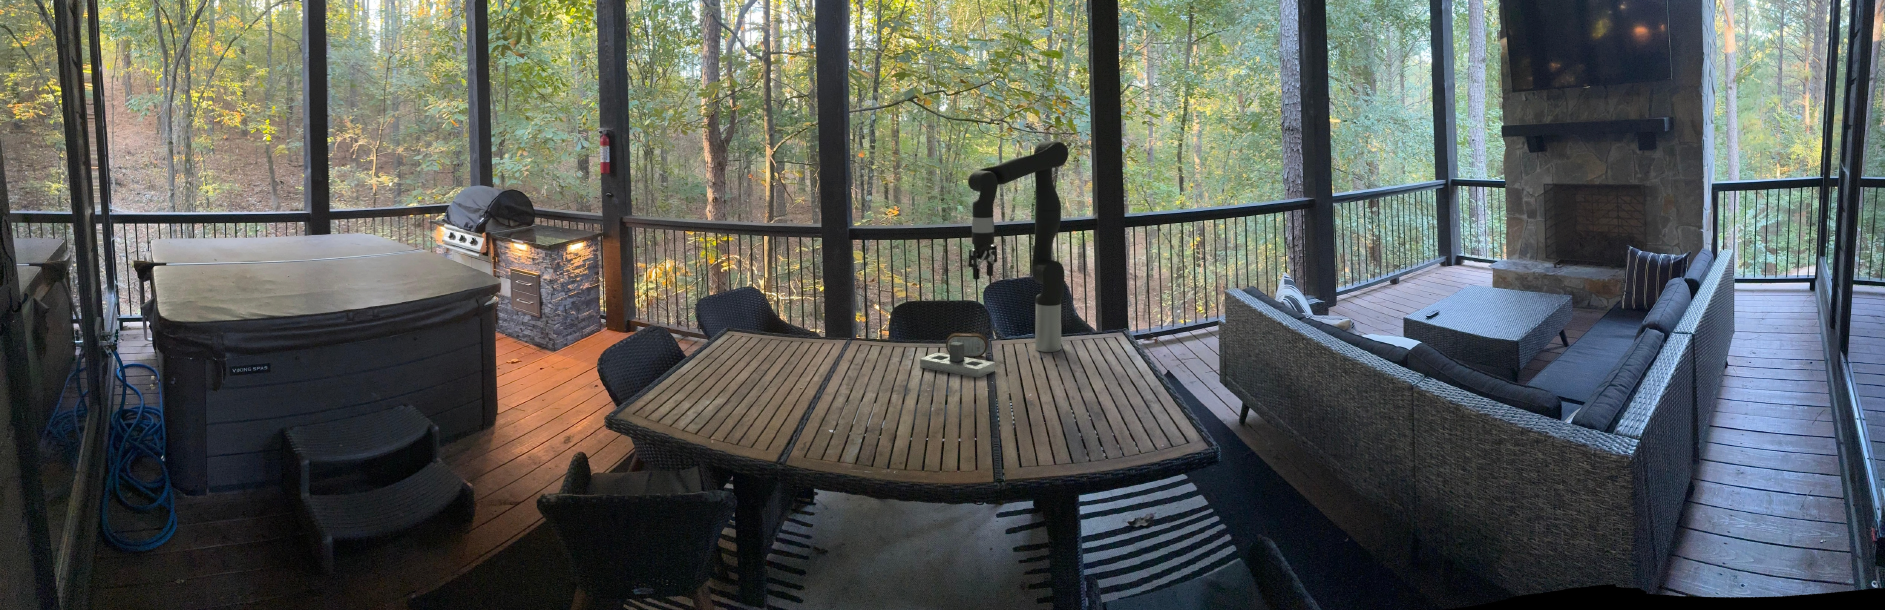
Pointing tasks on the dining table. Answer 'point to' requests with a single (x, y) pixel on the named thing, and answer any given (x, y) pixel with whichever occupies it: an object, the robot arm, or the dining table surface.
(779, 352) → the dining table surface
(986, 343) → the tin
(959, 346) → the square peg
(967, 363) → the rail
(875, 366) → the dining table surface
